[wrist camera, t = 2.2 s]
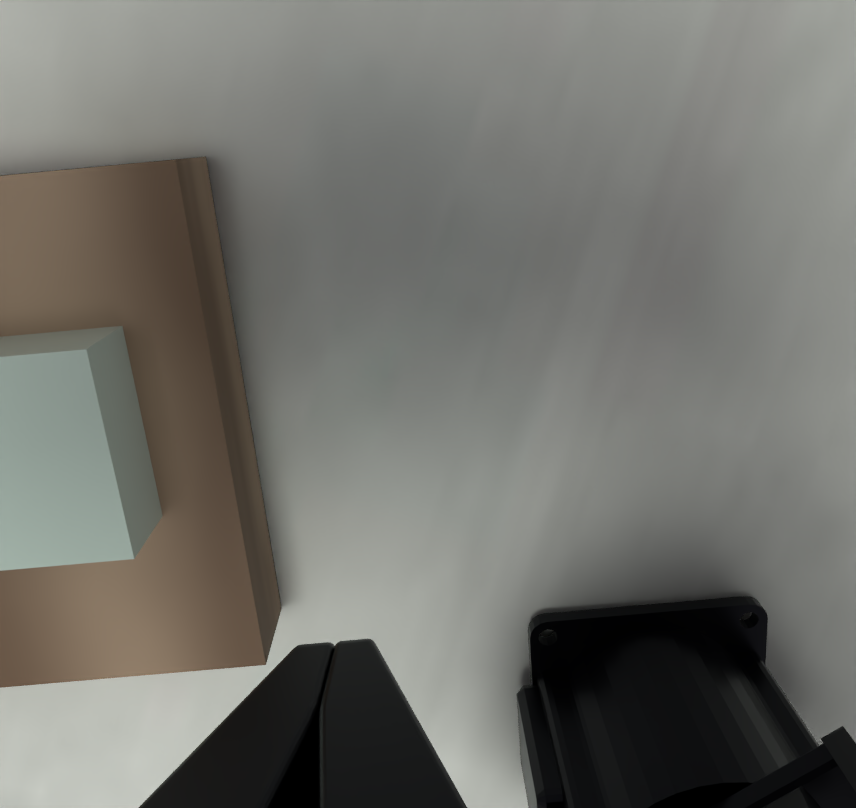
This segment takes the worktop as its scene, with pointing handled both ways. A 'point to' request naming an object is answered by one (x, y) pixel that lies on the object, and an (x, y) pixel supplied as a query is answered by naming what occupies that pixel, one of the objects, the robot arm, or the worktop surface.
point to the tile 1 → (72, 451)
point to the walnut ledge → (163, 423)
